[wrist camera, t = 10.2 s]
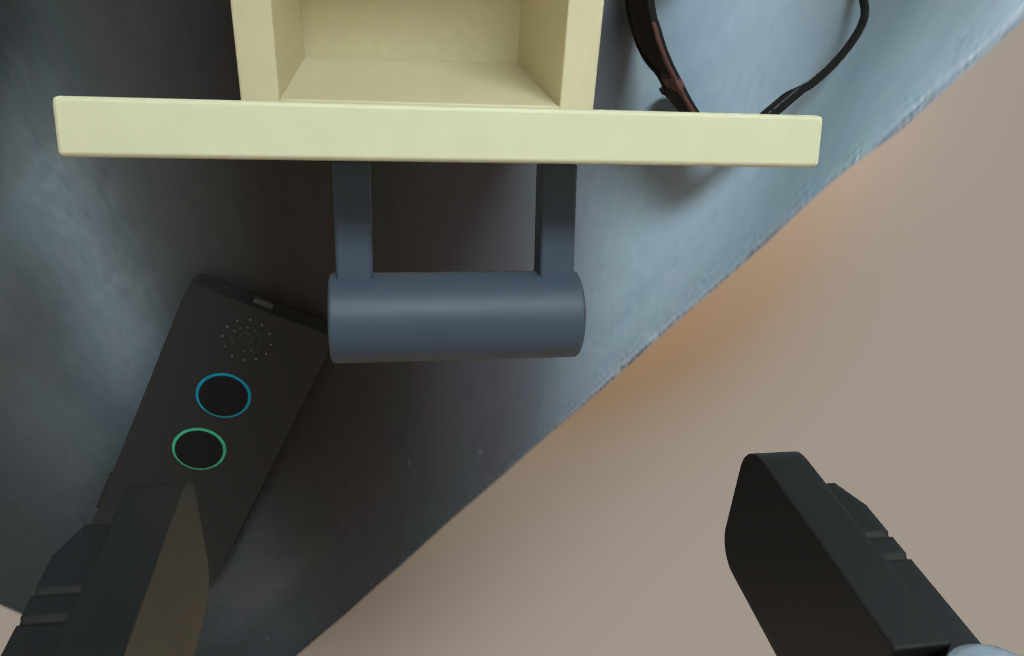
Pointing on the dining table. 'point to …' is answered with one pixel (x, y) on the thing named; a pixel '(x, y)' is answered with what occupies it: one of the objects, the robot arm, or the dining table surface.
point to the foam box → (419, 52)
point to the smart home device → (220, 405)
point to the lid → (438, 138)
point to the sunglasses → (672, 86)
